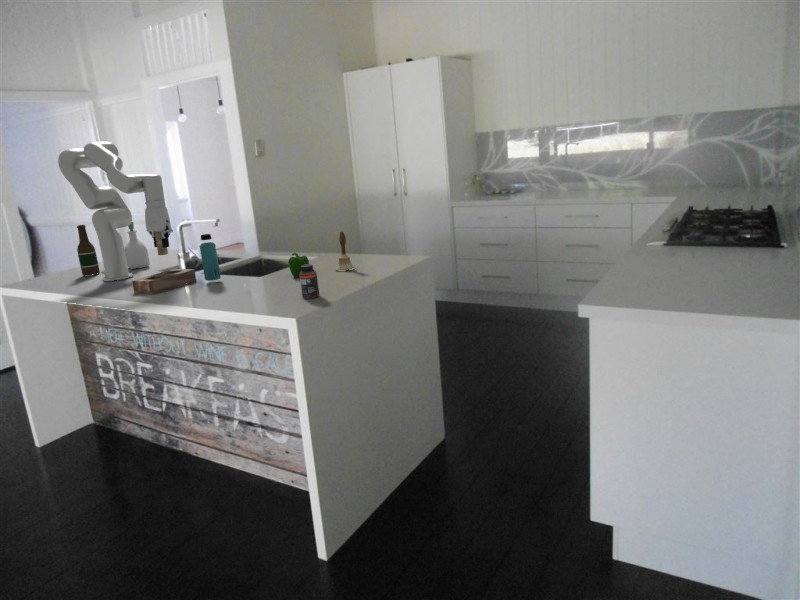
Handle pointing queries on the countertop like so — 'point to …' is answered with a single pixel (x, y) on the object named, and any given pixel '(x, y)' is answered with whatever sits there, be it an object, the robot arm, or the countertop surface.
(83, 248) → the beer bottle
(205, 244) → the beverage bottle
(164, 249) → the pin
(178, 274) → the bore block
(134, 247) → the soap bottle
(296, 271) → the bell pepper
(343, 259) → the hand bell
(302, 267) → the supplement bottle
